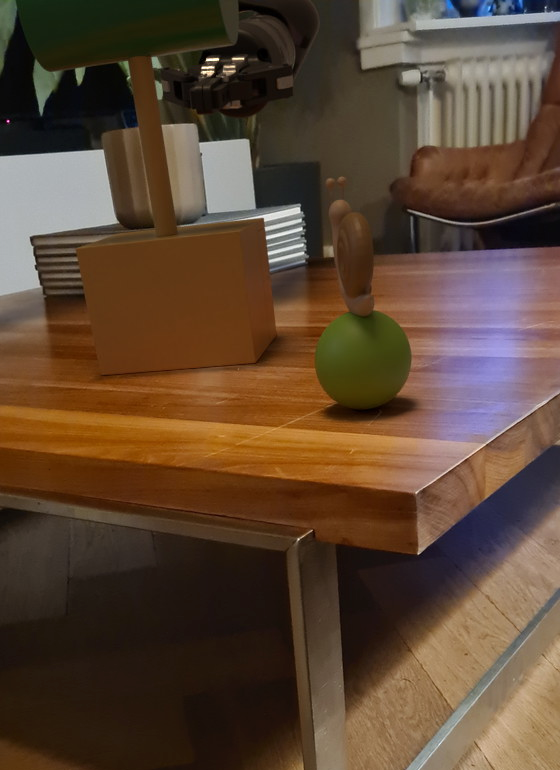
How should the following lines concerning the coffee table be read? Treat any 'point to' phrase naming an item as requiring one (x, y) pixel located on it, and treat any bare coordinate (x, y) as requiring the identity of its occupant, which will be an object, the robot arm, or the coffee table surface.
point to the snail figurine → (359, 323)
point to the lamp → (160, 202)
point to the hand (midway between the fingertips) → (202, 101)
